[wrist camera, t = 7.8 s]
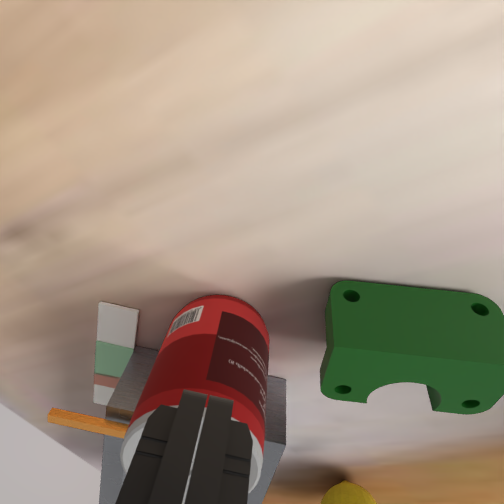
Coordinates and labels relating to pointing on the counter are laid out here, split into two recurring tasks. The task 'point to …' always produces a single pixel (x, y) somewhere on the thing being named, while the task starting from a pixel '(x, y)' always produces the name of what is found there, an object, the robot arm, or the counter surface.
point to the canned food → (210, 370)
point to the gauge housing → (127, 400)
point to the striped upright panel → (112, 347)
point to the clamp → (413, 344)
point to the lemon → (347, 494)
